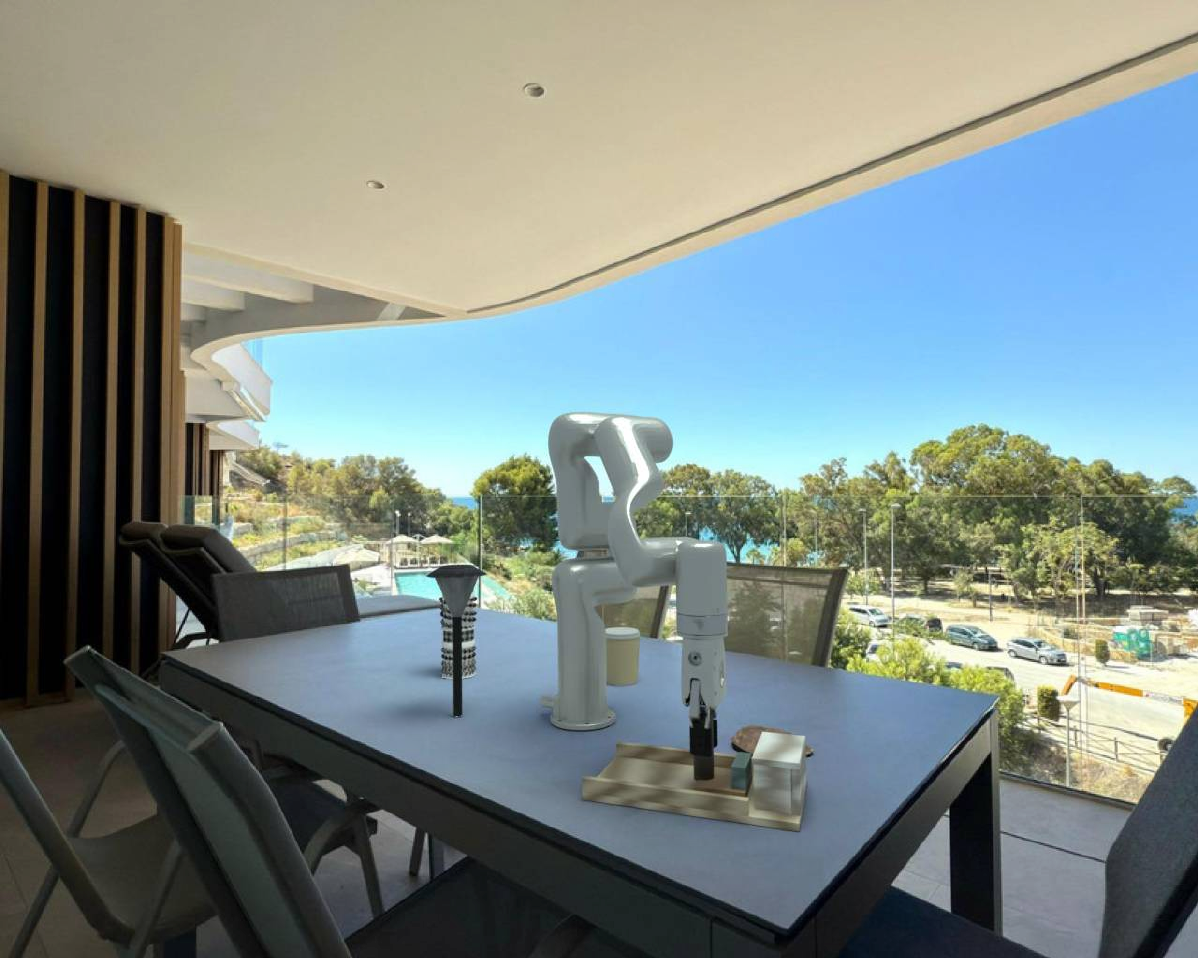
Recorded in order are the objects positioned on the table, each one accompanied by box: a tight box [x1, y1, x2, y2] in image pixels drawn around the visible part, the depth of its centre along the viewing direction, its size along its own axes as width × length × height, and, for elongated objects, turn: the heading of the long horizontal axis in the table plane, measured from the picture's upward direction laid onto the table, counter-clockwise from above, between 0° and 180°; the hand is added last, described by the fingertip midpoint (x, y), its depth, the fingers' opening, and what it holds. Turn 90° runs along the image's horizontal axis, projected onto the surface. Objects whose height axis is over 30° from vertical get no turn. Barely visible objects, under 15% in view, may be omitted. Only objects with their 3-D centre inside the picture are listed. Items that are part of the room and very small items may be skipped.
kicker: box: [693, 708, 753, 797], centre depth 101 cm, size 8×8×11 cm
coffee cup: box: [605, 626, 641, 687], centre depth 164 cm, size 9×9×12 cm
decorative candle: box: [438, 589, 478, 679], centre depth 171 cm, size 9×9×25 cm
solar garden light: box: [425, 564, 488, 716], centre depth 139 cm, size 12×12×30 cm
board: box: [581, 732, 808, 832], centre depth 102 cm, size 30×16×8 cm, turn 70°
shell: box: [730, 724, 814, 758], centre depth 119 cm, size 12×13×4 cm
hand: (703, 749), depth 102 cm, fingers closed on kicker, 3 cm apart
